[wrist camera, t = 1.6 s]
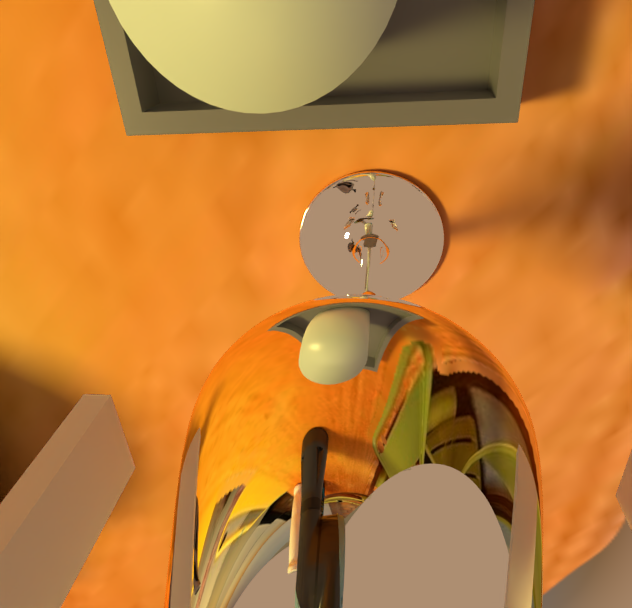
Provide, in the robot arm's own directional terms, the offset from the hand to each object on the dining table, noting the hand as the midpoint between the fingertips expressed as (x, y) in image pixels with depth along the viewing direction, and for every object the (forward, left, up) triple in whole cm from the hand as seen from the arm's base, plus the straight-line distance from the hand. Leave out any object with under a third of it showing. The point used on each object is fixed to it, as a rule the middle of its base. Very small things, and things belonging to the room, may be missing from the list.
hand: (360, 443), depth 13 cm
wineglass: (0, 0, -12) cm, 12 cm away
